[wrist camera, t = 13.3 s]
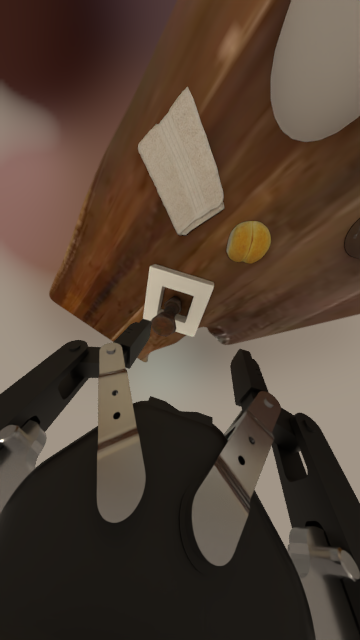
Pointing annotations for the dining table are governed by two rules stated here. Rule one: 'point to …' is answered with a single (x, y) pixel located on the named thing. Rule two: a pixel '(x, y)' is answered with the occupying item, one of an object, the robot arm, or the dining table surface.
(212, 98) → the dining table surface
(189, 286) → the collar block
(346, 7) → the cylinder
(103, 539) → the robot arm
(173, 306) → the bolt
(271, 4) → the dining table surface
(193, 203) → the washcloth
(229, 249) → the bread roll
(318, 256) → the dining table surface
